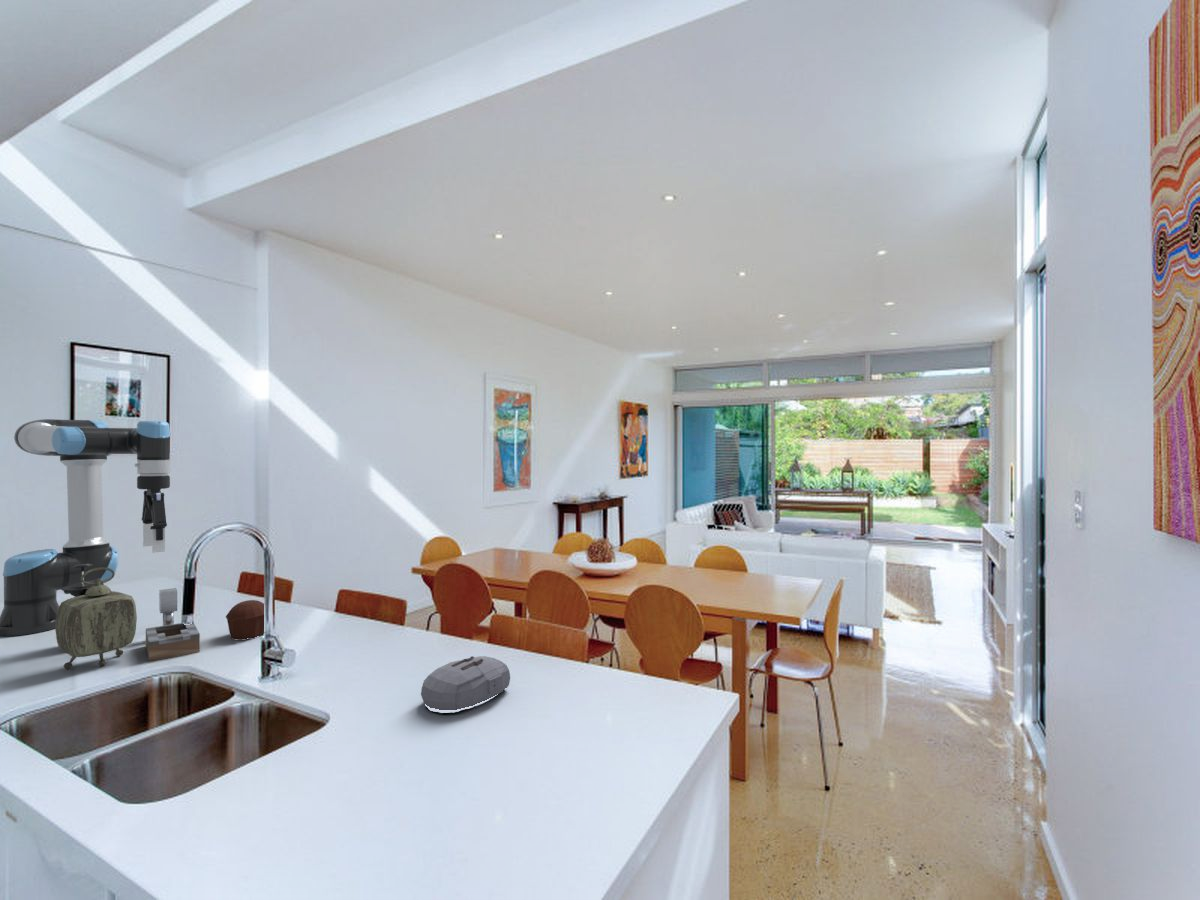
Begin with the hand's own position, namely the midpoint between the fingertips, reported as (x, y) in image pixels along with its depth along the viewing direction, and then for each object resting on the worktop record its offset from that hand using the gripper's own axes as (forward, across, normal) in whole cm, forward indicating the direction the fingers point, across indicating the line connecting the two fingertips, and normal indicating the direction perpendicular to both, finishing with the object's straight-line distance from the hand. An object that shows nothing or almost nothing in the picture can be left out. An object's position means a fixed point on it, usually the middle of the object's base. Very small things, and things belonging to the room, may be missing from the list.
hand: (153, 549), depth 168 cm
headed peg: (+27, -2, +4) cm, 27 cm away
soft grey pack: (+27, +95, +41) cm, 107 cm away
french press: (+27, -11, -14) cm, 32 cm away
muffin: (+27, +12, +21) cm, 36 cm away
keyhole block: (+27, +10, +2) cm, 29 cm away
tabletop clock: (+27, +11, -13) cm, 32 cm away
